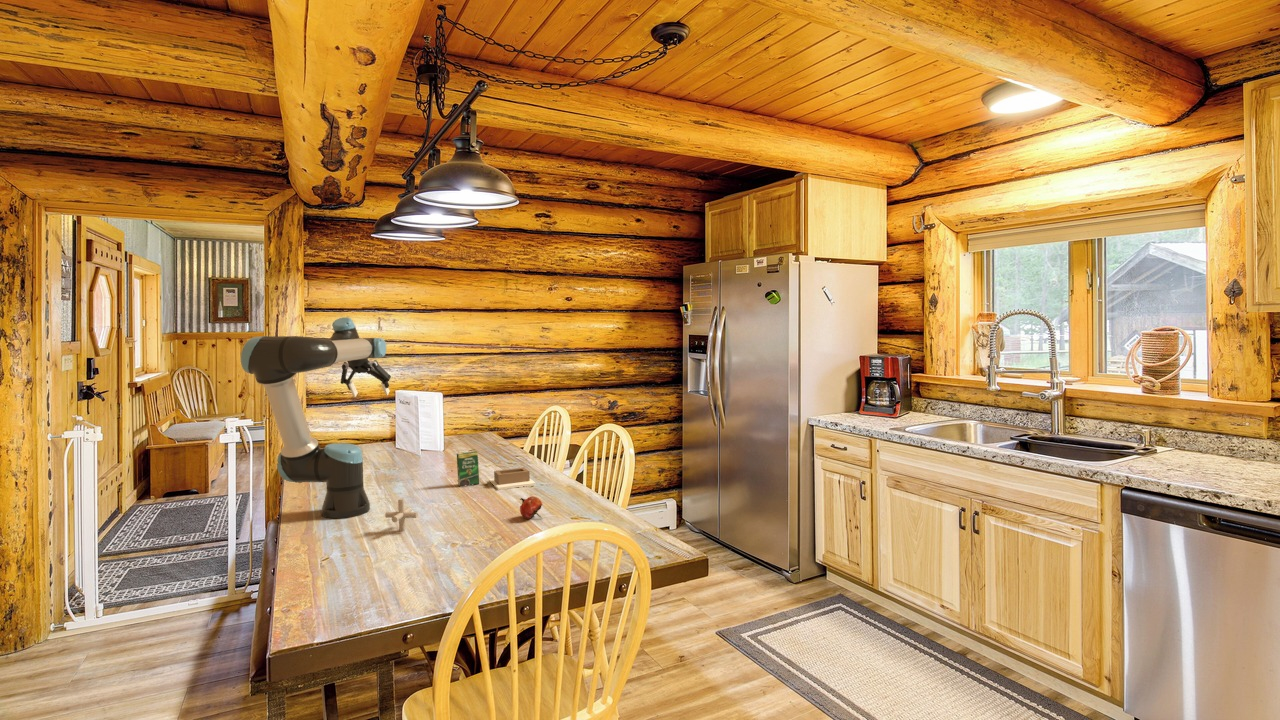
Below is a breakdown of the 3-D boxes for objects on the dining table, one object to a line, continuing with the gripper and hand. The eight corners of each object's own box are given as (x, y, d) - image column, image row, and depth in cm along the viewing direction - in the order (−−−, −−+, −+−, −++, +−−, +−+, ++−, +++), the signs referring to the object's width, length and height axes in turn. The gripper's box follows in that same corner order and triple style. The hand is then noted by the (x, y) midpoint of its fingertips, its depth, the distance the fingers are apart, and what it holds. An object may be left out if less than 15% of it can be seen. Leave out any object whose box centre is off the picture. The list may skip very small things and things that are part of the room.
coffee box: (459, 487, 255) (458, 454, 254) (457, 485, 258) (456, 453, 257) (479, 484, 259) (478, 452, 258) (477, 483, 261) (476, 450, 261)
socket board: (535, 485, 257) (535, 472, 256) (498, 490, 250) (497, 477, 250) (524, 477, 270) (524, 465, 270) (488, 481, 263) (488, 469, 263)
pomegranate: (544, 521, 218) (525, 501, 221) (553, 507, 215) (533, 486, 218) (530, 530, 212) (510, 509, 215) (539, 515, 209) (518, 494, 212)
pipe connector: (424, 525, 208) (423, 495, 208) (410, 536, 198) (409, 504, 198) (394, 525, 209) (393, 494, 209) (379, 535, 199) (377, 503, 199)
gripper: (388, 345, 260) (403, 386, 273) (327, 349, 261) (345, 390, 274) (382, 357, 254) (398, 398, 267) (320, 360, 255) (339, 401, 268)
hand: (371, 394), depth 270 cm, fingers open, 13 cm apart
